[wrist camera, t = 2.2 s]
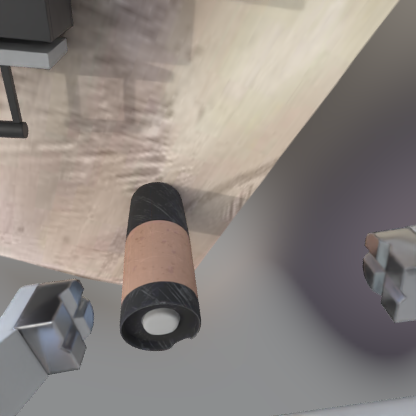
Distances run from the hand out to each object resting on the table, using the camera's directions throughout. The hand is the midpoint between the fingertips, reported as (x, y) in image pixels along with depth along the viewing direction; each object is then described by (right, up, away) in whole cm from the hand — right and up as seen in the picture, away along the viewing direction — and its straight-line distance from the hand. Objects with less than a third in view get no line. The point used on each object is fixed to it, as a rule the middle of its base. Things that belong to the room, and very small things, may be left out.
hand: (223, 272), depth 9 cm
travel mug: (-8, +3, +37) cm, 37 cm away
